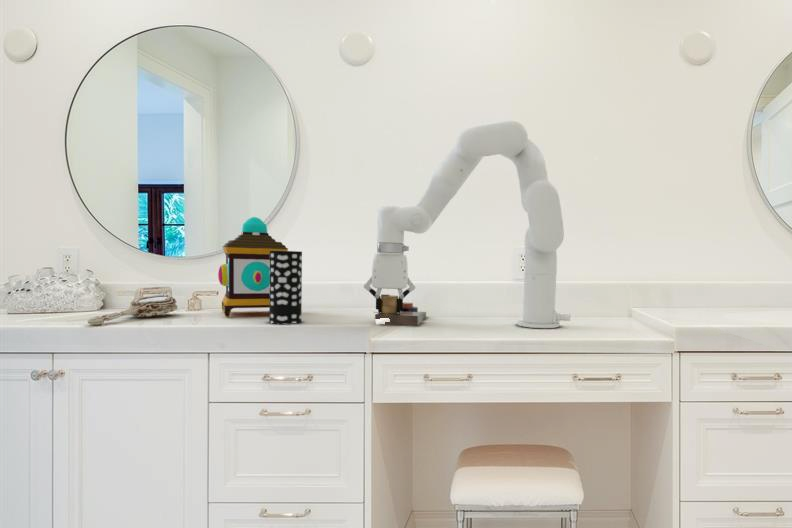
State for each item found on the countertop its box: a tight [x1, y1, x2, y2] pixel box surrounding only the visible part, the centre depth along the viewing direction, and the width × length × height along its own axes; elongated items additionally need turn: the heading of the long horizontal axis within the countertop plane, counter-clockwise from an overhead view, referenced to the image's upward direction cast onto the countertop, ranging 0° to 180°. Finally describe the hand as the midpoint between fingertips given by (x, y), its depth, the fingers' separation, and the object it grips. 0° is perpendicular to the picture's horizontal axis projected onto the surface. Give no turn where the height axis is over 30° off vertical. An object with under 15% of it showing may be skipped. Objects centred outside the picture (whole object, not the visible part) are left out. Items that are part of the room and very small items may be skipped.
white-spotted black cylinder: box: [268, 250, 303, 325], centre depth 154 cm, size 8×8×20 cm
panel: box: [373, 311, 424, 327], centre depth 160 cm, size 14×10×3 cm
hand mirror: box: [87, 294, 179, 326], centre depth 150 cm, size 11×6×30 cm
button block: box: [400, 306, 427, 321], centre depth 173 cm, size 11×9×4 cm
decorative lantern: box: [217, 216, 289, 318], centre depth 170 cm, size 20×20×30 cm
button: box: [403, 302, 414, 308], centre depth 173 cm, size 4×4×2 cm
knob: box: [380, 293, 399, 314], centre depth 160 cm, size 5×5×5 cm
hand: (389, 311), depth 160 cm, fingers closed on knob, 4 cm apart
